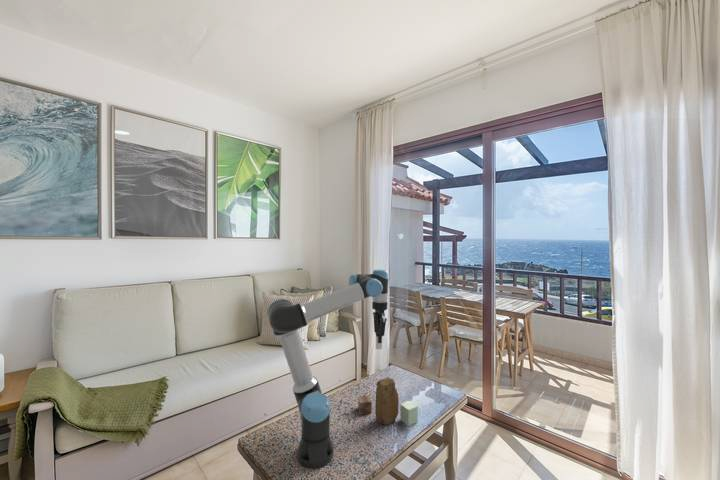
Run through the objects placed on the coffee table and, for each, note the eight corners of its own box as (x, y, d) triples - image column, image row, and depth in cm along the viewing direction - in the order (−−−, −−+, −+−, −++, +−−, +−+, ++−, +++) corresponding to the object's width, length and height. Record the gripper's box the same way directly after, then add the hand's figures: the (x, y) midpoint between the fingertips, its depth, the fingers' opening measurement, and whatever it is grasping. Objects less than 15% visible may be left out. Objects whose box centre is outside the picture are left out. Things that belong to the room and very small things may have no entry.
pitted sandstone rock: (382, 427, 145) (382, 386, 144) (373, 419, 151) (374, 379, 151) (400, 420, 150) (400, 380, 150) (391, 412, 157) (391, 374, 156)
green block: (408, 426, 146) (408, 410, 146) (400, 419, 151) (400, 404, 151) (417, 422, 149) (417, 406, 149) (409, 416, 154) (409, 400, 154)
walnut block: (359, 414, 155) (360, 402, 155) (358, 407, 161) (358, 396, 161) (371, 413, 156) (371, 401, 156) (369, 406, 162) (369, 395, 162)
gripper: (392, 303, 144) (390, 352, 145) (382, 298, 157) (381, 343, 157) (377, 304, 142) (376, 354, 142) (368, 298, 155) (367, 344, 155)
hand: (378, 348), depth 150 cm, fingers closed
